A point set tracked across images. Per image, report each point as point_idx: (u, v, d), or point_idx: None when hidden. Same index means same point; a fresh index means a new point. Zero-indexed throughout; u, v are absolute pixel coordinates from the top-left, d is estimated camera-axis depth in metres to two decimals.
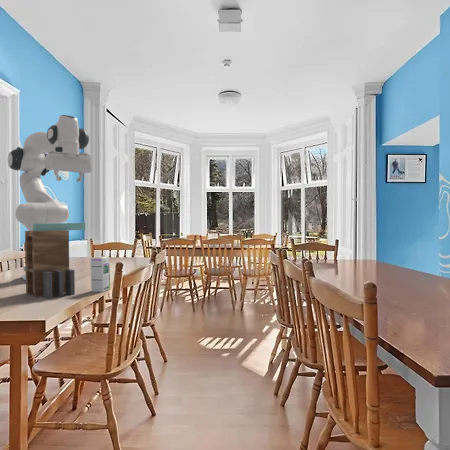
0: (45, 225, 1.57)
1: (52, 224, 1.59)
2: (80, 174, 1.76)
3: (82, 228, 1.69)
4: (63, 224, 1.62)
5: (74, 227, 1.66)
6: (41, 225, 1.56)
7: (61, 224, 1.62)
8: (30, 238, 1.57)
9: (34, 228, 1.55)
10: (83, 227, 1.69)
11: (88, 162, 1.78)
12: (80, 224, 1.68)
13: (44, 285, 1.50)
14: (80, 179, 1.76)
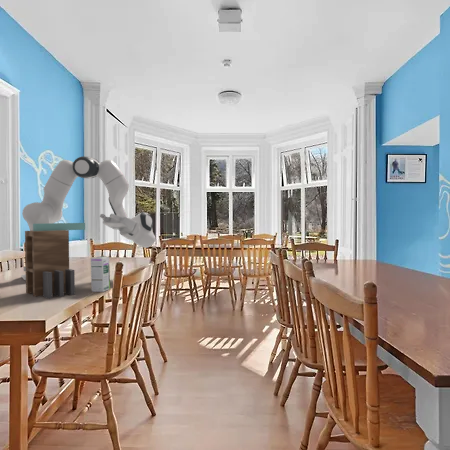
0: (45, 225, 1.57)
1: (52, 224, 1.59)
2: (106, 219, 1.86)
3: (82, 228, 1.69)
4: (63, 224, 1.62)
5: (74, 227, 1.66)
6: (41, 225, 1.56)
7: (61, 224, 1.62)
8: (30, 238, 1.57)
9: (34, 228, 1.55)
10: (83, 227, 1.69)
11: (110, 227, 1.92)
12: (80, 224, 1.68)
13: (44, 285, 1.50)
14: (101, 217, 1.84)
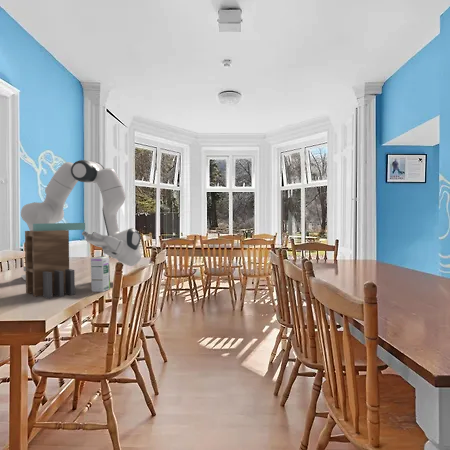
0: (45, 225, 1.57)
1: (52, 224, 1.59)
2: (88, 236, 1.78)
3: (82, 228, 1.69)
4: (63, 224, 1.62)
5: (74, 227, 1.66)
6: (41, 225, 1.56)
7: (61, 224, 1.62)
8: (30, 238, 1.57)
9: (34, 228, 1.55)
10: (83, 227, 1.69)
11: (93, 244, 1.83)
12: (80, 224, 1.68)
13: (44, 285, 1.50)
14: (84, 235, 1.76)
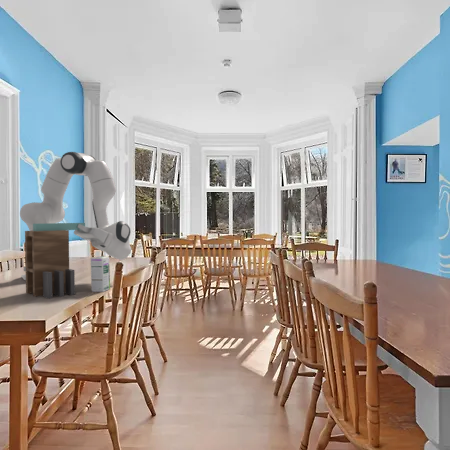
0: (45, 225, 1.57)
1: (52, 224, 1.59)
2: None
3: None
4: (63, 224, 1.62)
5: (74, 227, 1.66)
6: (41, 225, 1.56)
7: (61, 224, 1.62)
8: (30, 238, 1.57)
9: (34, 228, 1.55)
10: None
11: (82, 237, 1.79)
12: None
13: (44, 285, 1.50)
14: None
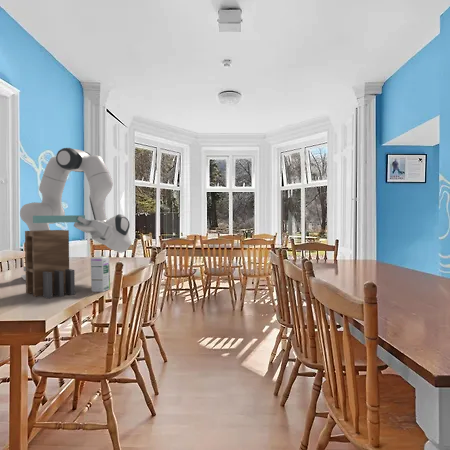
0: (45, 217, 1.57)
1: (52, 216, 1.59)
2: (78, 222, 1.72)
3: None
4: (63, 216, 1.62)
5: (74, 220, 1.66)
6: (41, 217, 1.56)
7: (61, 216, 1.62)
8: (30, 238, 1.57)
9: (34, 220, 1.55)
10: None
11: (82, 230, 1.79)
12: (80, 216, 1.68)
13: (44, 285, 1.50)
14: None
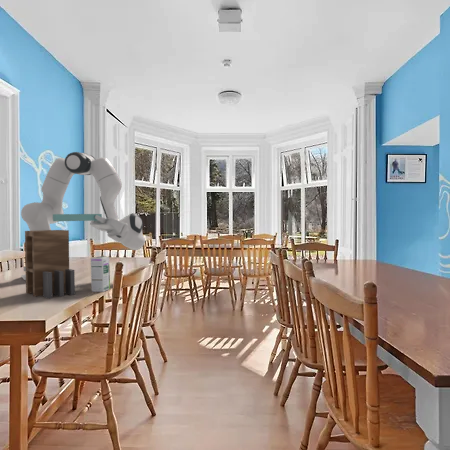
0: (64, 216, 1.63)
1: (71, 215, 1.65)
2: None
3: None
4: (81, 215, 1.68)
5: (92, 218, 1.72)
6: (61, 215, 1.62)
7: (79, 215, 1.67)
8: (30, 238, 1.57)
9: (54, 218, 1.61)
10: None
11: None
12: None
13: (44, 285, 1.50)
14: None
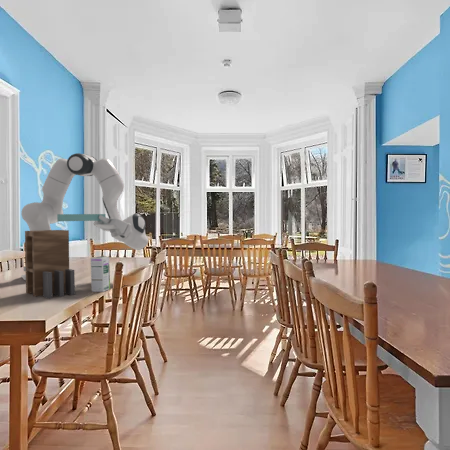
0: (69, 216, 1.64)
1: (75, 215, 1.66)
2: None
3: None
4: (85, 215, 1.70)
5: (96, 218, 1.73)
6: (65, 216, 1.63)
7: (83, 215, 1.69)
8: (30, 238, 1.57)
9: (58, 218, 1.62)
10: None
11: None
12: None
13: (44, 285, 1.50)
14: None
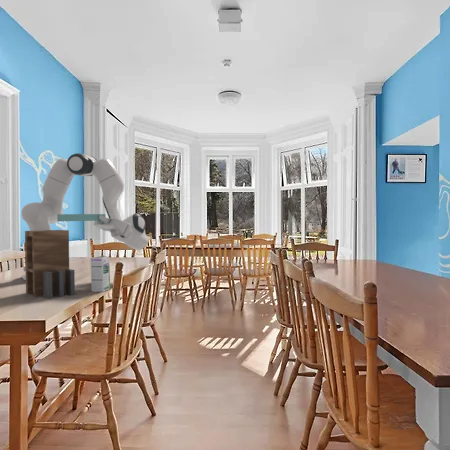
0: (69, 216, 1.64)
1: (75, 215, 1.66)
2: None
3: None
4: (85, 215, 1.70)
5: (96, 218, 1.73)
6: (65, 216, 1.63)
7: (83, 215, 1.69)
8: (30, 238, 1.57)
9: (58, 218, 1.62)
10: None
11: None
12: None
13: (44, 285, 1.50)
14: None
